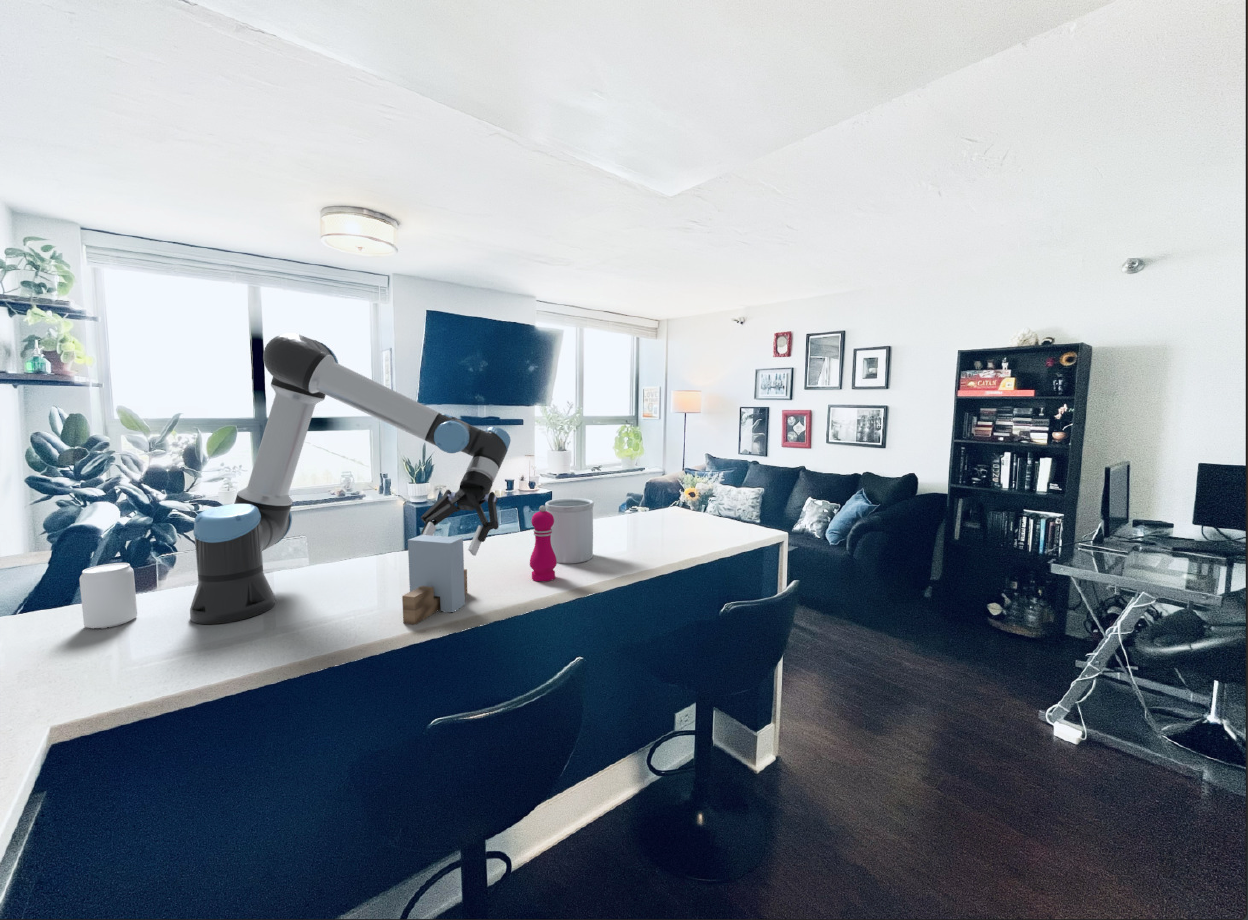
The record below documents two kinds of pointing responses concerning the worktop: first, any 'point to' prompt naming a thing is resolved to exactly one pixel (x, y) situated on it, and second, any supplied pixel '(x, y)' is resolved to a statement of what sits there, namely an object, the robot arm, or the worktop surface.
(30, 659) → the worktop surface
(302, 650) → the worktop surface
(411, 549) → the tall grey pillar
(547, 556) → the pepper mill
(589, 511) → the utensil holder
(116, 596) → the beverage can
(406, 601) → the walnut slotted rail
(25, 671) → the worktop surface
